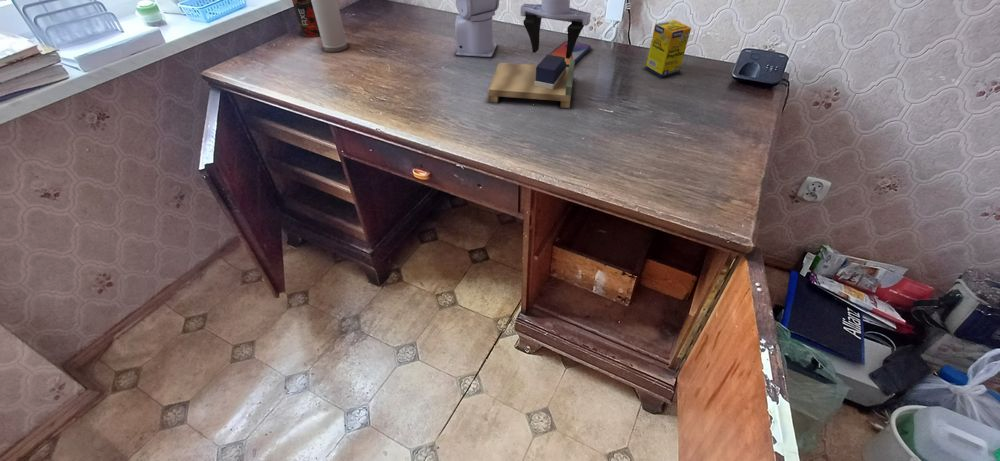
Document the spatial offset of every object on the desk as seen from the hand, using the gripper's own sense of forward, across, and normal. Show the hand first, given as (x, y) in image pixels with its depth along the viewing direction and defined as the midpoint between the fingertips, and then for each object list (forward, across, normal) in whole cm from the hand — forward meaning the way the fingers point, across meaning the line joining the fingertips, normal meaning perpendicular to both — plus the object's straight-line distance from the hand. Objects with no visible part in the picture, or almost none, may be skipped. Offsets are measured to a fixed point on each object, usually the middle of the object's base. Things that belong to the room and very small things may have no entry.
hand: (552, 53), depth 102 cm
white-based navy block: (+6, 0, 0) cm, 6 cm away
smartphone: (+9, +2, -20) cm, 22 cm away
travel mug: (+9, +62, -1) cm, 62 cm away
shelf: (+9, +4, +1) cm, 10 cm away
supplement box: (+9, -22, -21) cm, 32 cm away
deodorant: (+9, +74, -7) cm, 75 cm away
